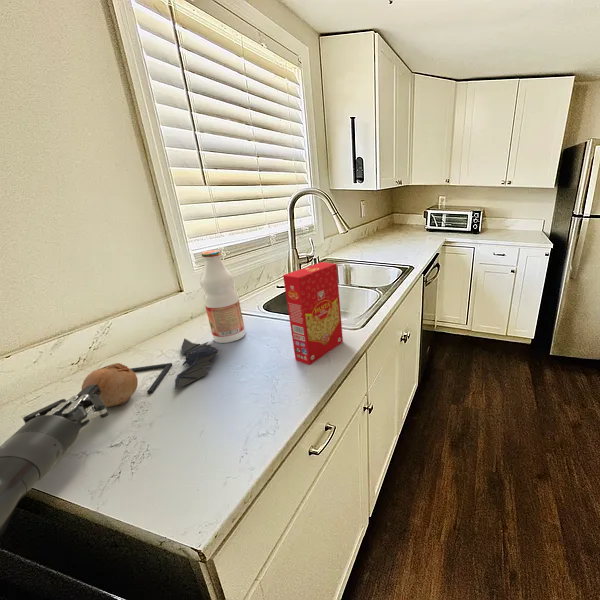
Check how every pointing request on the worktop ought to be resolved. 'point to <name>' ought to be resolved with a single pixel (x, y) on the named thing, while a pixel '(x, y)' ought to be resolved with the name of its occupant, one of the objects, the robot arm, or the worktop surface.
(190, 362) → the decorative bat
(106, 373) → the onion
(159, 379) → the frame
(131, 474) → the worktop surface
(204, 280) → the fruit juice
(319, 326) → the food packaging
